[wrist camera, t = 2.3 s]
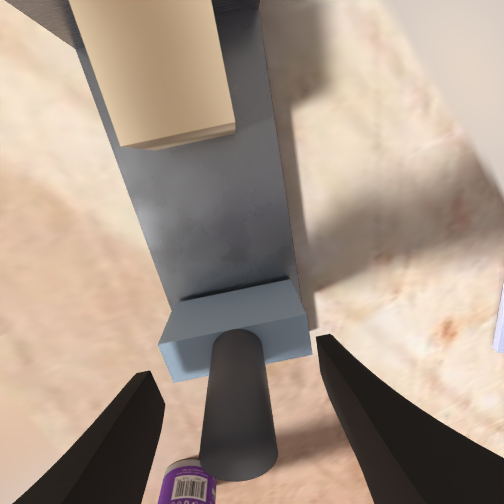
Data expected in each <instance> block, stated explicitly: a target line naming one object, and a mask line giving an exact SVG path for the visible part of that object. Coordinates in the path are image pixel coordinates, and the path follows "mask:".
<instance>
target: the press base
mask: <svg viewBox="0 0 504 504" xmlns="http://www.w3.org/2000/svg"><path fill="white" fill-rule="evenodd" d="M5 1H7V2H8V3H10V4H11V5H12V6H14V7H15V8H17V9H18V10H20V11H21V12H23V13H24V14H25V15H27V16H28V17H30V18H31V19H33V20H34V21H36V22H37V23H38V24H40V25H41V26H43V27H44V28H46V29H47V30H49V31H50V32H52V33H53V34H54V35H56V36H57V37H59V38H60V39H62V40H63V41H65V42H66V43H67V44H69V45H70V46H72V47H73V48H75V49H76V52H77V54H78V57H79V60H80V63H81V65H82V68H83V71H84V73H85V76H86V79H87V82H88V84H89V87H90V90H91V92H92V95H93V98H94V101H95V103H96V106H97V109H98V111H99V114H100V117H101V120H102V122H103V125H104V128H105V131H106V133H107V136H108V139H109V141H110V144H111V147H112V150H113V152H114V155H115V158H116V160H117V163H118V166H119V169H120V171H121V174H122V177H123V180H124V182H125V185H126V188H127V190H128V193H129V196H130V199H131V201H132V204H133V207H134V209H135V212H136V215H137V218H138V220H139V223H140V226H141V228H142V231H143V234H144V237H145V239H146V242H147V245H148V248H149V250H150V253H151V256H152V258H153V261H154V264H155V267H156V269H157V272H158V275H159V277H160V280H161V283H162V286H163V288H164V291H165V294H166V296H167V299H168V302H169V305H170V307H171V310H173V307H174V305H175V303H177V302H182V301H187V300H192V299H197V298H202V297H206V296H211V295H216V294H221V293H226V292H231V291H235V290H240V289H245V288H250V287H255V286H260V285H265V284H269V283H274V282H279V281H284V280H289V279H291V281H292V283H293V285H294V288H295V290H296V292H297V294H298V296H299V298H300V301H301V294H300V287H299V281H298V274H297V267H296V260H295V254H294V247H293V240H292V233H291V227H290V220H289V213H288V206H287V199H286V193H285V186H284V179H283V172H282V166H281V159H280V152H279V145H278V139H277V132H276V125H275V118H274V112H273V105H272V98H271V91H270V84H269V78H268V71H267V64H266V57H265V51H264V44H263V37H262V30H261V24H260V17H259V10H258V8H259V2H260V0H211V2H212V7H213V12H214V17H215V22H216V27H217V32H218V37H219V42H220V47H221V52H222V57H223V63H224V68H225V73H226V78H227V83H228V88H229V93H230V98H231V103H232V108H233V113H234V118H235V134H231V135H226V136H221V137H216V138H212V139H207V140H202V141H198V142H193V143H188V144H184V145H179V146H174V147H170V148H165V149H160V150H147V149H138V148H129V147H121V146H120V143H119V141H118V138H117V135H116V132H115V129H114V126H113V124H112V121H111V118H110V115H109V112H108V110H107V107H106V104H105V101H104V98H103V96H102V93H101V90H100V87H99V84H98V81H97V79H96V76H95V73H94V70H93V67H92V65H91V62H90V59H89V56H88V53H87V51H86V48H85V45H84V42H83V39H82V36H81V34H80V31H79V28H78V25H77V22H76V20H75V17H74V14H73V11H72V8H71V5H70V3H69V0H5ZM301 303H302V301H301Z"/></svg>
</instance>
